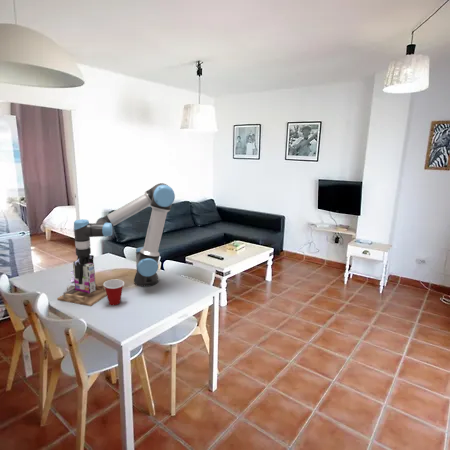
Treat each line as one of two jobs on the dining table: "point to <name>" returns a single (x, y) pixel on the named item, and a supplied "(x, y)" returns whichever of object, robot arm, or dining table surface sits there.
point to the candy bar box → (86, 278)
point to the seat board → (83, 295)
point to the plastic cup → (114, 290)
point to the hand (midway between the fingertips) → (85, 286)
